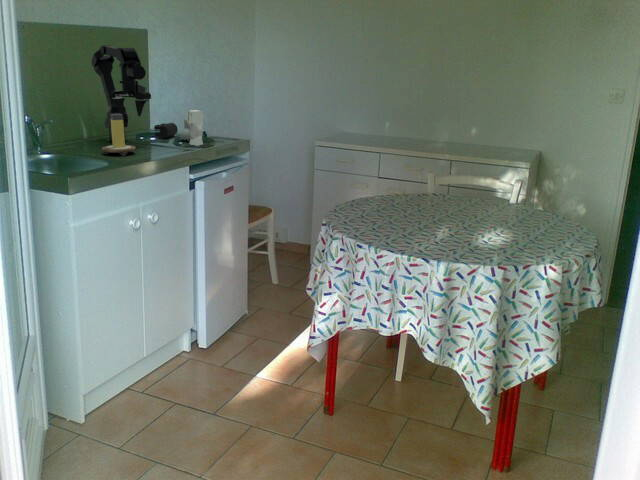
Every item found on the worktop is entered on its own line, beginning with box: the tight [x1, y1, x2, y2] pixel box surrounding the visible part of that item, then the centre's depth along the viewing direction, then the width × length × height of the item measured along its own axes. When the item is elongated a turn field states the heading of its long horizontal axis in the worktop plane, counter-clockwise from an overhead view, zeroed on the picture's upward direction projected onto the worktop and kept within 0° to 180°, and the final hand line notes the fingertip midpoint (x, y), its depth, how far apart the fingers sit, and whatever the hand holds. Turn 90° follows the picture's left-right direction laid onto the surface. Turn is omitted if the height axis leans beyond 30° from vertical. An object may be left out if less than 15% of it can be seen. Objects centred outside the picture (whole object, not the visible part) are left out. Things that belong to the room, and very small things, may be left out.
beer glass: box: [186, 109, 204, 147], centre depth 283 cm, size 7×7×15 cm
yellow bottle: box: [110, 114, 126, 148], centre depth 257 cm, size 4×4×13 cm
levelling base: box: [101, 144, 136, 157], centre depth 260 cm, size 13×13×3 cm
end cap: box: [153, 122, 178, 140], centre depth 302 cm, size 10×7×7 cm
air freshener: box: [178, 118, 204, 140], centre depth 295 cm, size 11×8×10 cm
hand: (131, 115), depth 276 cm, fingers open, 9 cm apart
